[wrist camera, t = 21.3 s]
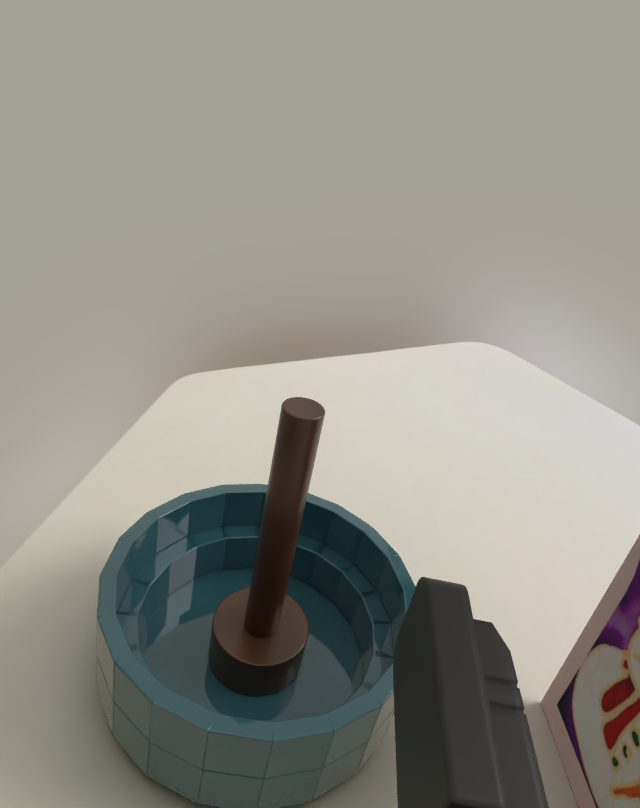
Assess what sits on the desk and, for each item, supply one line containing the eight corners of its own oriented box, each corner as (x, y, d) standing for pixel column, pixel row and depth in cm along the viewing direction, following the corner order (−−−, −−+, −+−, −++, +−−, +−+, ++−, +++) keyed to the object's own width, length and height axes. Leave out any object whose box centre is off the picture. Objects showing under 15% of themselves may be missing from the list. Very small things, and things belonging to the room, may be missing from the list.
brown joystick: (214, 703, 28) (254, 441, 21) (203, 619, 32) (234, 376, 25) (311, 689, 30) (381, 442, 23) (290, 611, 34) (342, 380, 27)
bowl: (88, 857, 23) (86, 772, 20) (104, 564, 36) (105, 486, 33) (439, 784, 28) (478, 708, 25) (343, 550, 41) (362, 481, 38)
